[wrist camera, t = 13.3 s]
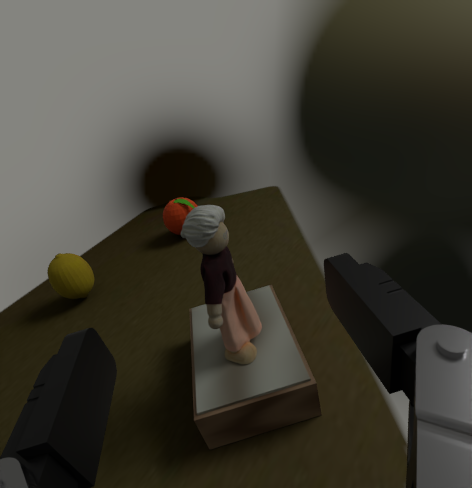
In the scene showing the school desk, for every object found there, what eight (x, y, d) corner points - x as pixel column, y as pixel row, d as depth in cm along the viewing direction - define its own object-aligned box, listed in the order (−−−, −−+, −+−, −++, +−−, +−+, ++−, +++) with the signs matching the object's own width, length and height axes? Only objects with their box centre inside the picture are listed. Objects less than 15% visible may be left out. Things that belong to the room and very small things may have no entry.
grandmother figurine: (272, 369, 23) (233, 222, 17) (223, 381, 23) (166, 240, 17) (256, 303, 29) (224, 181, 23) (218, 313, 30) (176, 194, 23)
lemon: (101, 300, 44) (74, 256, 40) (63, 315, 43) (32, 271, 39) (104, 281, 49) (80, 239, 45) (69, 294, 48) (42, 252, 44)
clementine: (216, 226, 57) (206, 191, 53) (192, 245, 52) (179, 208, 49) (187, 222, 62) (175, 190, 58) (163, 239, 57) (149, 206, 54)
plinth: (209, 449, 23) (192, 418, 21) (200, 335, 33) (188, 307, 31) (321, 414, 23) (316, 380, 21) (277, 312, 34) (271, 283, 32)
